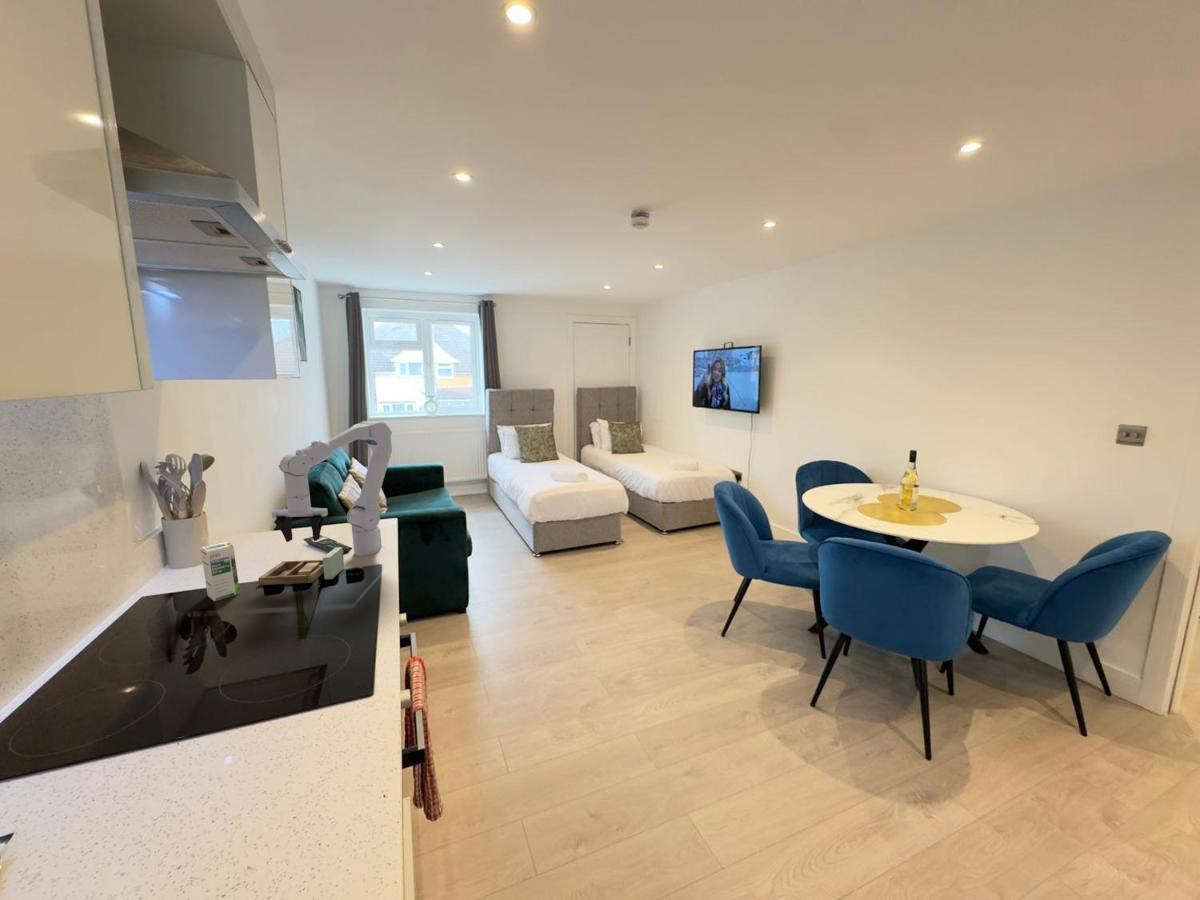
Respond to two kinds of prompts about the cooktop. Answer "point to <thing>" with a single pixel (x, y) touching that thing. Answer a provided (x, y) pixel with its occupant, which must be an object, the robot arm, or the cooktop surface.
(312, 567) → the offcut stack
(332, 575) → the pale green flat block
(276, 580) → the rack
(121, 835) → the cooktop surface
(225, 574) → the syrup box
